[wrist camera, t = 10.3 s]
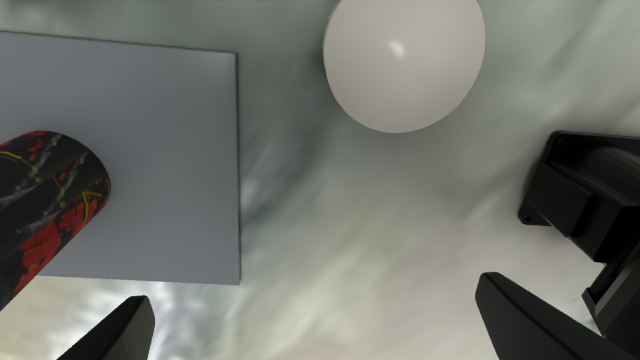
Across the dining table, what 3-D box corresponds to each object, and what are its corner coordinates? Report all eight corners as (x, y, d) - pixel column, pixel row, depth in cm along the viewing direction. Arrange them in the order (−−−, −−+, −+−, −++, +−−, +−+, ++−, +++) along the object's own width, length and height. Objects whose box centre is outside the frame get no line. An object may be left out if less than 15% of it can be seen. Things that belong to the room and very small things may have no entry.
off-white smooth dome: (468, -22, 17) (508, -27, 14) (434, 114, 21) (460, 138, 17) (329, -37, 17) (334, -47, 13) (316, 105, 20) (317, 127, 17)
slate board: (236, 52, 19) (234, 53, 18) (240, 279, 26) (239, 285, 25) (-85, 23, 18) (-97, 23, 17) (13, 267, 25) (7, 273, 24)
